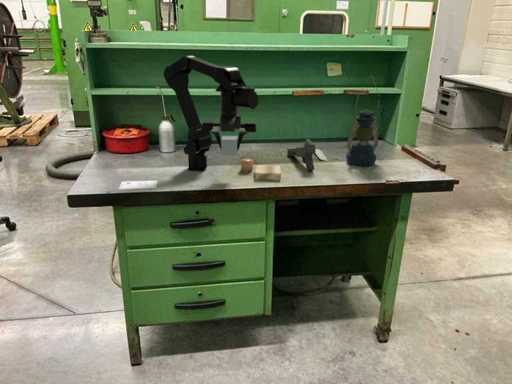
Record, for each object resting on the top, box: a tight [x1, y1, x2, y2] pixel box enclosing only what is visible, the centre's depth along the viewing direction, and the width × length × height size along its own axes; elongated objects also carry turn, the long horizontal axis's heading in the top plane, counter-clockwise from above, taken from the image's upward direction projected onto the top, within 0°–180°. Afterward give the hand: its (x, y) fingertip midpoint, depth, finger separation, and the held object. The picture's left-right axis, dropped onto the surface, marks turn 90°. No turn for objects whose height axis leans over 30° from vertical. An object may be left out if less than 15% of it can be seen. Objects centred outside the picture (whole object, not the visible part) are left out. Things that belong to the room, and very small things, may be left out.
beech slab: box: [254, 164, 282, 181], centre depth 154 cm, size 9×9×2 cm
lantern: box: [345, 74, 380, 168], centre depth 166 cm, size 14×12×35 cm
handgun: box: [286, 144, 316, 172], centre depth 170 cm, size 4×24×10 cm, turn 15°
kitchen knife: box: [304, 138, 328, 162], centre depth 187 cm, size 29×3×5 cm
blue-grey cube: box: [220, 135, 239, 156], centre depth 149 cm, size 6×6×6 cm
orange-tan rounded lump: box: [240, 158, 254, 173], centre depth 160 cm, size 4×4×4 cm
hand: (229, 150), depth 149 cm, fingers closed on blue-grey cube, 5 cm apart
